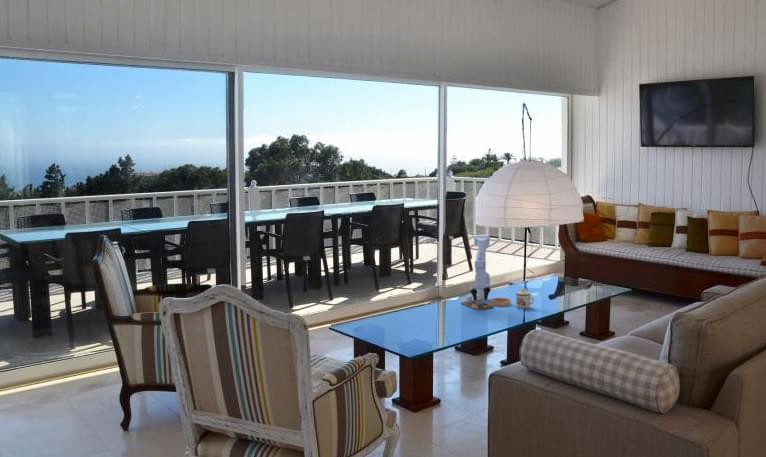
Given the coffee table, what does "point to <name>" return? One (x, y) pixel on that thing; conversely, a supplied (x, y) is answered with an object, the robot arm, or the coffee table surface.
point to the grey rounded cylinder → (480, 302)
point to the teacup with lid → (523, 299)
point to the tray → (474, 306)
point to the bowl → (500, 301)
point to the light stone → (469, 300)
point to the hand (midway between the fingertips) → (480, 300)
